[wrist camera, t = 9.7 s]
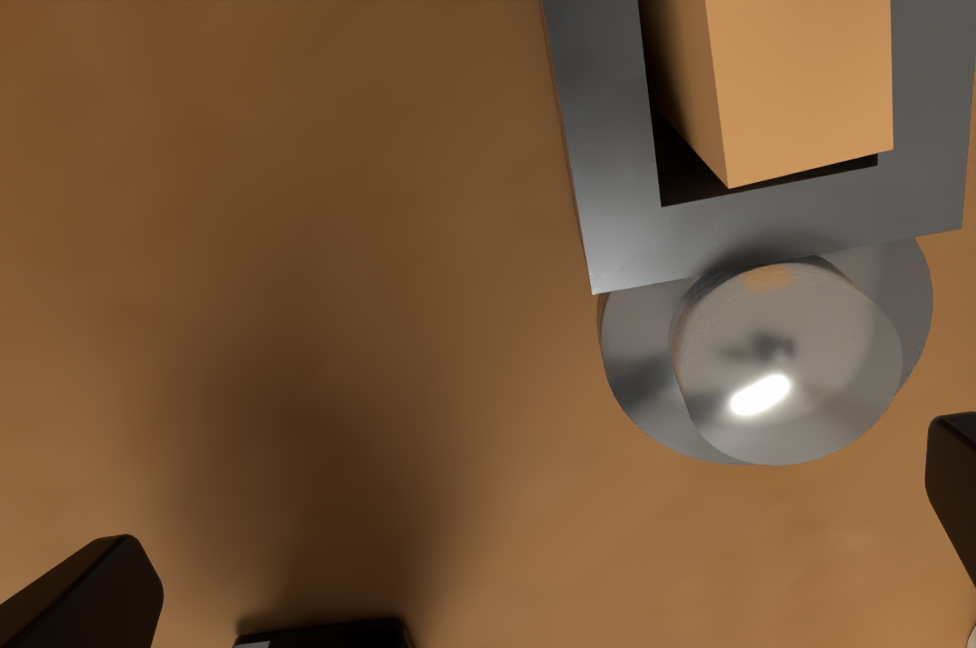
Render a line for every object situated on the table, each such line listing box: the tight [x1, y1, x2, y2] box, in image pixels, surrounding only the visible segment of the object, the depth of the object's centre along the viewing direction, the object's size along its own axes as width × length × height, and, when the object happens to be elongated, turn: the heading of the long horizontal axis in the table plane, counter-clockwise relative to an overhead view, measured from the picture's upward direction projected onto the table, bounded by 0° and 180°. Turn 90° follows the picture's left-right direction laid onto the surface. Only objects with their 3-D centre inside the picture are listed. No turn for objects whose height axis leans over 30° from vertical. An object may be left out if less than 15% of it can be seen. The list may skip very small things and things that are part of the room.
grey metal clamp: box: [539, 0, 976, 465], centre depth 14 cm, size 14×15×6 cm
